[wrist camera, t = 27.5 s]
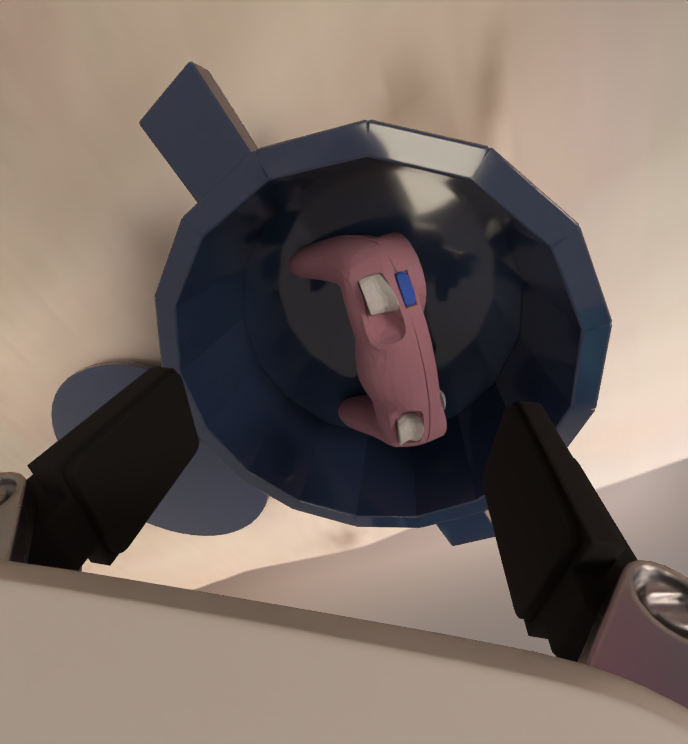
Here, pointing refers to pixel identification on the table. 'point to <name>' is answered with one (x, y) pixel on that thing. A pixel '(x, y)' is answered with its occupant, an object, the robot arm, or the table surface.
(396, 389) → the video game controller
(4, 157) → the table surface
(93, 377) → the pan lid
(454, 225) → the pan
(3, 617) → the robot arm
